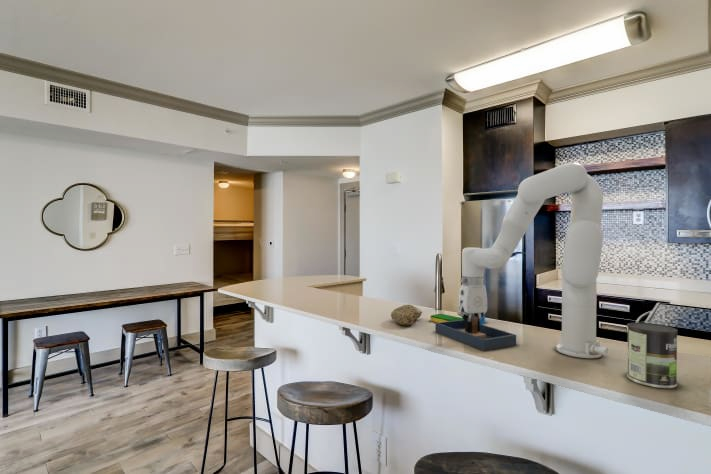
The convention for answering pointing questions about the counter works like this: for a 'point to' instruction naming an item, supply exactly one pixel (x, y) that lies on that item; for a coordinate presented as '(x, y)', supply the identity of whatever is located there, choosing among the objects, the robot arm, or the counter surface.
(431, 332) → the counter surface
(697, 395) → the counter surface
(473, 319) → the two-tone wood block
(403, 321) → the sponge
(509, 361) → the counter surface
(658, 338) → the coffee can
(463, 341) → the baking dish
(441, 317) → the dish sponge
